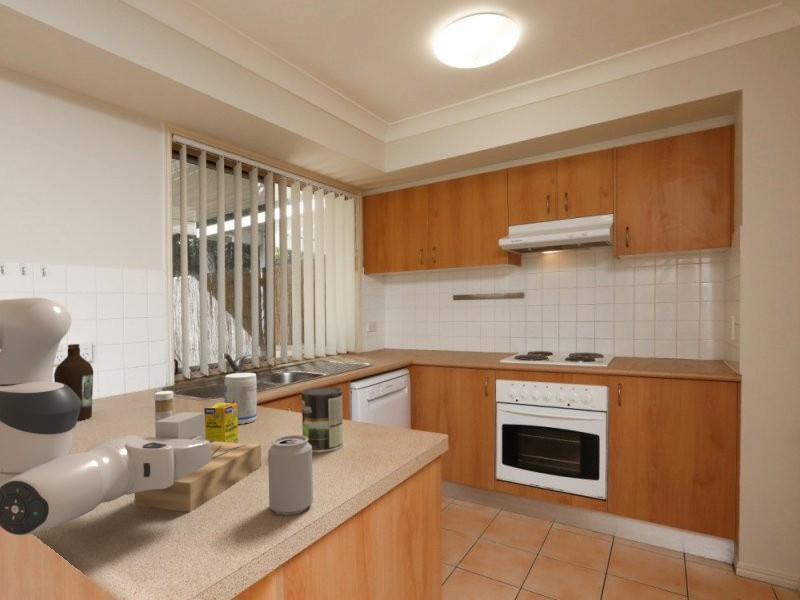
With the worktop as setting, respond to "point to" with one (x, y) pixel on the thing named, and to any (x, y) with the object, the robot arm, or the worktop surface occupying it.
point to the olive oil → (77, 379)
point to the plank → (206, 478)
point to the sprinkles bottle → (163, 405)
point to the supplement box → (221, 422)
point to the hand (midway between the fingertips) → (185, 439)
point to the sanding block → (181, 426)
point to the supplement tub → (242, 395)
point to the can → (290, 474)
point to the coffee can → (322, 418)
